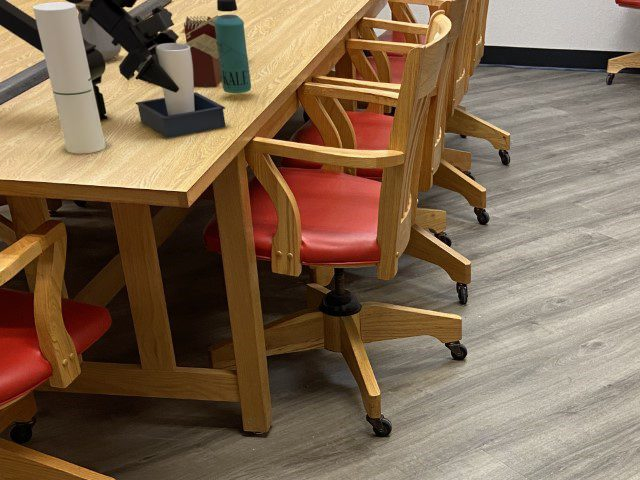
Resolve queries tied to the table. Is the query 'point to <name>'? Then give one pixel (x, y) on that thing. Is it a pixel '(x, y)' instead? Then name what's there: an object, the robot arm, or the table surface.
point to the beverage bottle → (232, 49)
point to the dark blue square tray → (182, 117)
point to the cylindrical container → (69, 76)
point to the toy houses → (203, 51)
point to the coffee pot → (97, 36)
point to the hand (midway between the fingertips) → (183, 86)
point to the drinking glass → (177, 76)
